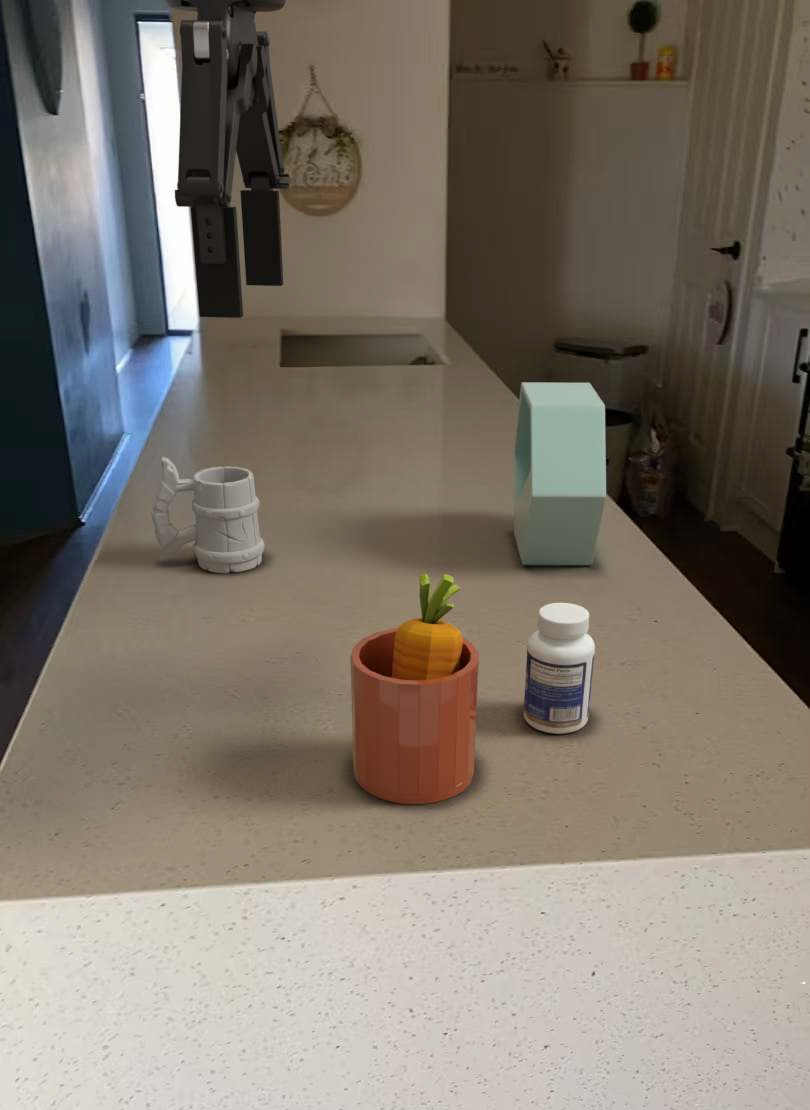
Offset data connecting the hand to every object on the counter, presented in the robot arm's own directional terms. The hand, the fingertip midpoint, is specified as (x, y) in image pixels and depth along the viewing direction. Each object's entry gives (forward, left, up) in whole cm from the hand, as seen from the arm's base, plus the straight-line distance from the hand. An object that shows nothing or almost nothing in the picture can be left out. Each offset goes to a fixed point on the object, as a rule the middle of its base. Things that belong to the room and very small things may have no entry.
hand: (244, 300), depth 77 cm
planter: (+25, +40, -33) cm, 57 cm away
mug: (-13, +31, -33) cm, 47 cm away
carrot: (+13, -10, -32) cm, 36 cm away
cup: (+13, -9, -33) cm, 36 cm away
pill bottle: (+24, 0, -33) cm, 41 cm away
